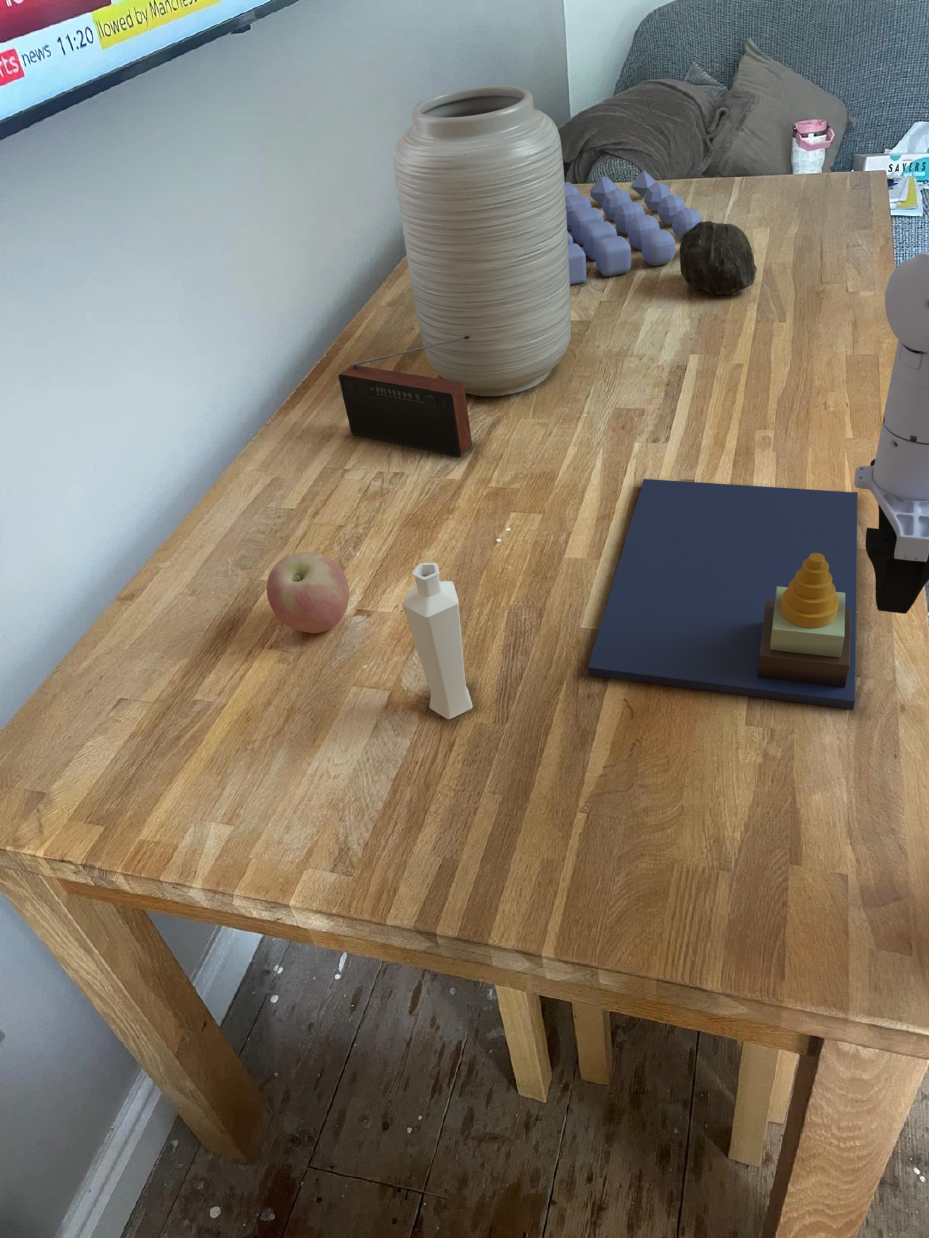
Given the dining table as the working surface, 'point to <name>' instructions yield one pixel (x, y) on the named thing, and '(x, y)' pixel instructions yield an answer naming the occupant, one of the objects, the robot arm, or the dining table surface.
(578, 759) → the dining table surface
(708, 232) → the rock
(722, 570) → the board
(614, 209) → the blocks
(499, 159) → the vase
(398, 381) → the radio
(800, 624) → the cone
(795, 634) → the block stack
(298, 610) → the apple
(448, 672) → the perfume bottle
